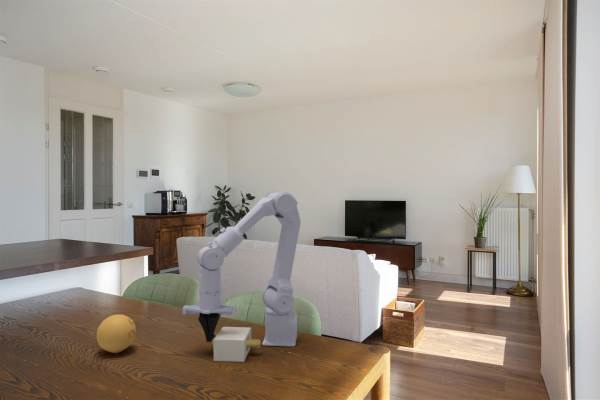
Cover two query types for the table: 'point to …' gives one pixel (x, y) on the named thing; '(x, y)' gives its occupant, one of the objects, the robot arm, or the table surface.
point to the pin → (249, 343)
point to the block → (231, 344)
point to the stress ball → (116, 333)
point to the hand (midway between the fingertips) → (209, 340)
